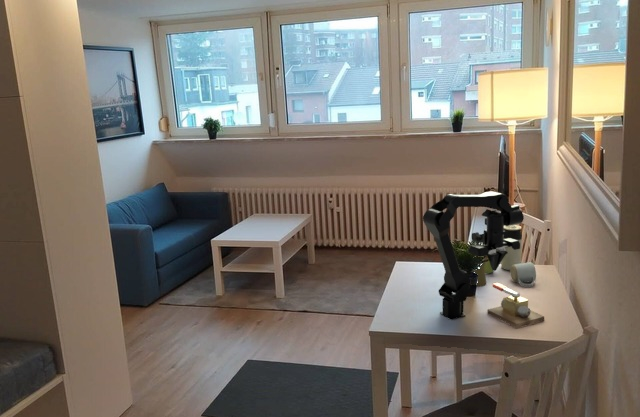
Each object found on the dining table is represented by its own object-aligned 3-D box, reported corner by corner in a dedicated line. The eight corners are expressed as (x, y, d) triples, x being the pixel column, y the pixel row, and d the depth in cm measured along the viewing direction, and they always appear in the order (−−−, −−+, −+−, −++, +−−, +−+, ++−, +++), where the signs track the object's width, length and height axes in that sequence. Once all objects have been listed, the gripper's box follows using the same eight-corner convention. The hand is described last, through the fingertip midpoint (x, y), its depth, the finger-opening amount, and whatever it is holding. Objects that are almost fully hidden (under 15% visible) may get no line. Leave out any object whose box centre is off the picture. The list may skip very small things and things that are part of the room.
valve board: (516, 328, 190) (516, 323, 189) (487, 313, 202) (487, 309, 202) (544, 320, 194) (544, 316, 194) (514, 306, 207) (514, 302, 206)
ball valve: (519, 319, 192) (520, 303, 191) (498, 309, 201) (499, 294, 200) (532, 316, 194) (533, 300, 193) (511, 306, 203) (511, 291, 202)
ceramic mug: (508, 278, 235) (509, 260, 233) (529, 277, 235) (529, 259, 233) (518, 288, 224) (519, 269, 223) (539, 287, 225) (540, 268, 223)
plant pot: (477, 275, 240) (477, 255, 238) (471, 268, 249) (471, 248, 247) (500, 274, 240) (500, 254, 238) (493, 267, 249) (493, 247, 248)
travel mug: (501, 270, 245) (502, 229, 241) (500, 264, 253) (501, 224, 249) (521, 271, 243) (523, 229, 239) (519, 265, 251) (521, 224, 247)
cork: (487, 286, 228) (487, 259, 225) (471, 286, 229) (471, 259, 226) (485, 281, 233) (486, 254, 231) (470, 280, 235) (470, 254, 232)
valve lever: (521, 297, 196) (521, 293, 196) (515, 298, 195) (515, 295, 195) (498, 285, 207) (498, 282, 207) (492, 287, 206) (492, 283, 206)
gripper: (500, 219, 214) (499, 260, 217) (458, 226, 206) (458, 268, 210) (522, 225, 204) (520, 268, 207) (479, 233, 196) (479, 277, 200)
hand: (494, 270), depth 206 cm, fingers closed
